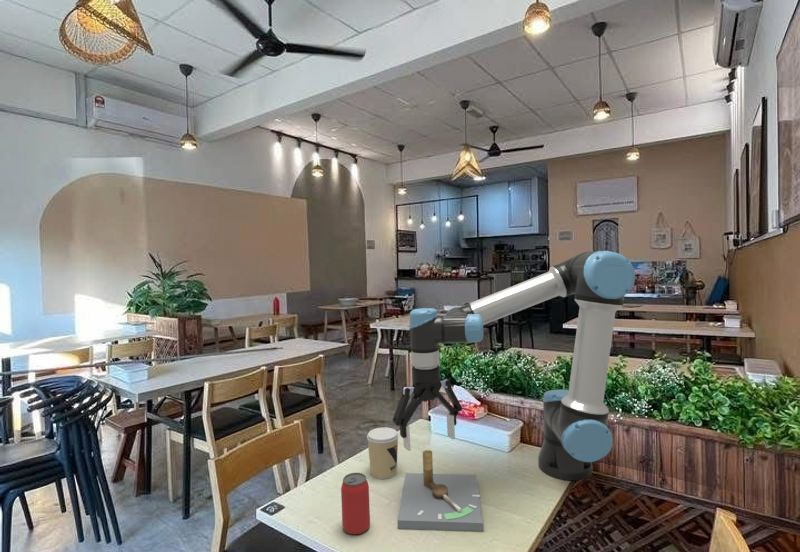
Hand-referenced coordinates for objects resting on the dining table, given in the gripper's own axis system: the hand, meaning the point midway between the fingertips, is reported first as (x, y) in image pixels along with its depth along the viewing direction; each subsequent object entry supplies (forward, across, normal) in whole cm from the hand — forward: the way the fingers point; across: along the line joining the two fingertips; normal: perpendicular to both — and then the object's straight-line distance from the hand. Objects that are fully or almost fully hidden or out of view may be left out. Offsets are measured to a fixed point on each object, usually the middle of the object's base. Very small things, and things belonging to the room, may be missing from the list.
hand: (429, 443), depth 115 cm
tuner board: (+14, +1, +6) cm, 15 cm away
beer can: (+13, +24, +5) cm, 28 cm away
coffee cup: (+14, +8, -16) cm, 22 cm away
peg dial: (+11, +1, +6) cm, 13 cm away
